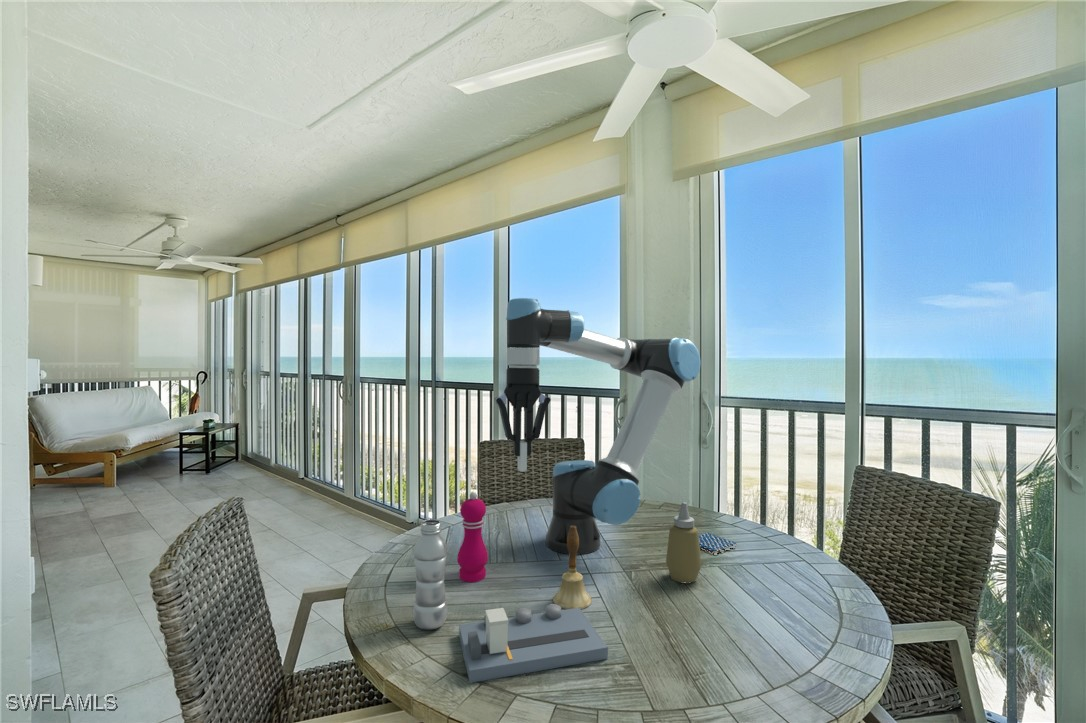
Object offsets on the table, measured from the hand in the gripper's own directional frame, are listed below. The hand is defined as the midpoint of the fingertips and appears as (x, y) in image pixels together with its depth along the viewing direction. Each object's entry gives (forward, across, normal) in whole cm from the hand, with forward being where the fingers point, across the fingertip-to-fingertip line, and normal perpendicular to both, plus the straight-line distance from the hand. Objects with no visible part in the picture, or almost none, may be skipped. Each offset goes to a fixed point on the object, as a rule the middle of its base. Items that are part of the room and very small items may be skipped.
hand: (522, 470), depth 113 cm
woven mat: (+27, -57, -9) cm, 64 cm away
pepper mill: (+27, +10, -7) cm, 29 cm away
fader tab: (+24, +11, +26) cm, 37 cm away
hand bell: (+27, -9, +10) cm, 30 cm away
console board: (+26, +4, +24) cm, 36 cm away
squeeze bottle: (+27, -38, +7) cm, 47 cm away
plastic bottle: (+27, +21, +12) cm, 36 cm away
